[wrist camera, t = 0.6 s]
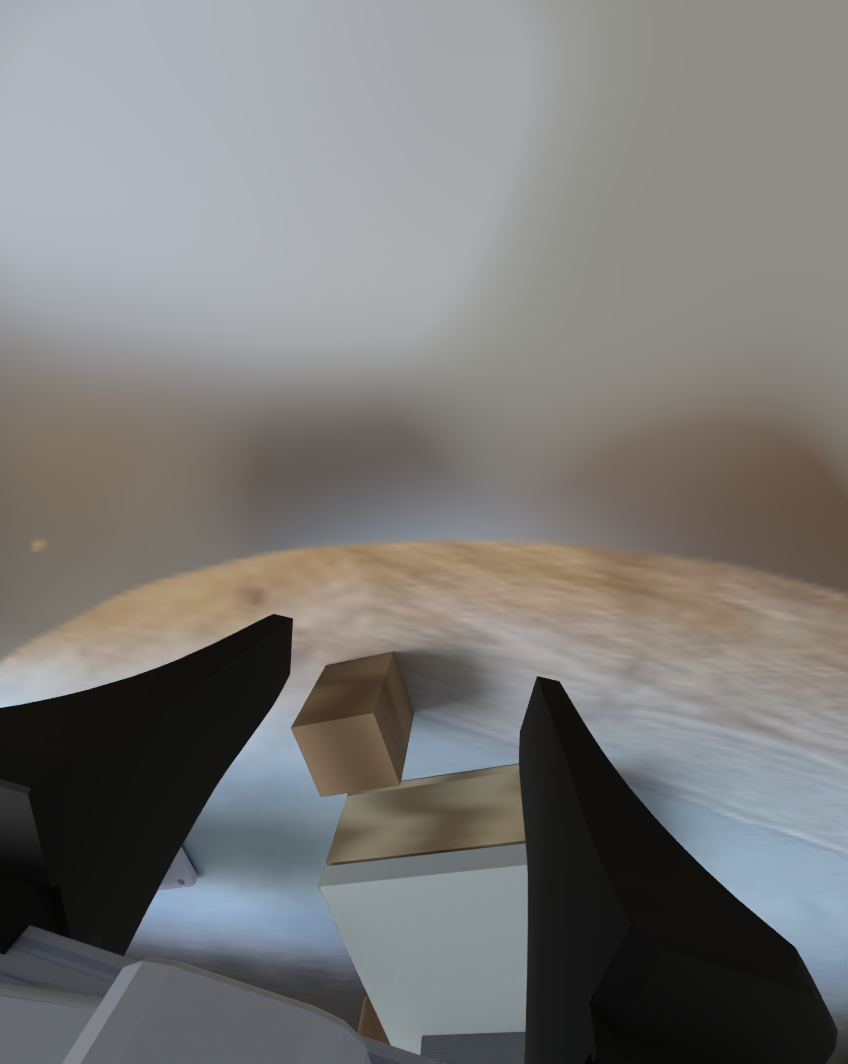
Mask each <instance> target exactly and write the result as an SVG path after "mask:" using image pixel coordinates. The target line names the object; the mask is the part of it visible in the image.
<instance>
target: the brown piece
mask: <svg viewBox="0 0 848 1064" xmlns="http://www.w3.org/2000/svg"><path fill="white" fill-rule="evenodd" d="M524 843H526V842H525V831H524V820H523V810H522V799H521V787H520V775H519V764H516V765H510V766H503V767H496V768H489V769H483V770H476V771H469V772H462V773H456V774H449V775H442V776H435V777H428V778H422V779H415V780H408V781H401V784H400V785H399V786H393V787H386V788H379V789H372V790H365V791H358V792H351V793H348V795H347V799H346V802H345V805H344V808H343V811H342V814H341V817H340V820H339V824H338V827H337V830H336V833H335V836H334V839H333V842H332V845H331V849H330V852H329V855H328V858H327V861H326V863H327V866H333V865H341V864H350V863H359V862H367V861H376V860H385V859H393V858H402V857H411V856H420V855H428V854H437V853H446V852H454V851H463V850H472V849H480V848H489V847H498V846H506V845H515V844H524Z"/></svg>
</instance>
